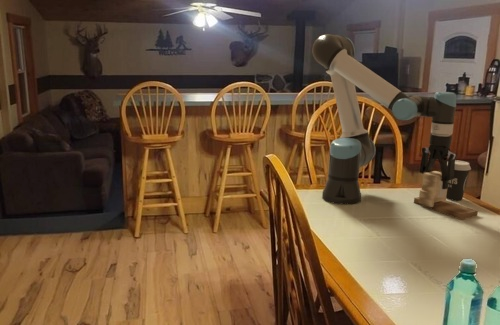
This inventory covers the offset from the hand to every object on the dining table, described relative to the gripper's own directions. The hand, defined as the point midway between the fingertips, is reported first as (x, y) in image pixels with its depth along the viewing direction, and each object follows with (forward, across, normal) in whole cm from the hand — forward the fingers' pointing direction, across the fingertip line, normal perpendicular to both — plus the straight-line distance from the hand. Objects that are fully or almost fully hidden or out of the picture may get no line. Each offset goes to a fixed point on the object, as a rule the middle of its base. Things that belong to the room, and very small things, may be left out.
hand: (433, 194), depth 179 cm
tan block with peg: (+4, 0, +1) cm, 4 cm away
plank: (+5, +4, +1) cm, 7 cm away
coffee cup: (+5, -3, +17) cm, 18 cm away
